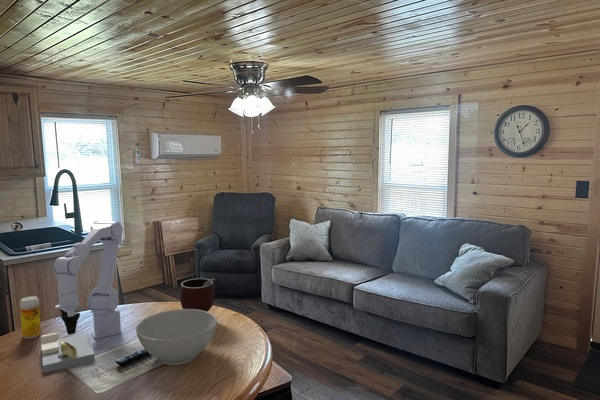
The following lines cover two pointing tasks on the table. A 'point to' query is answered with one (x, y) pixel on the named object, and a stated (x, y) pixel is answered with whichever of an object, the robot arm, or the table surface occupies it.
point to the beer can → (30, 317)
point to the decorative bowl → (176, 334)
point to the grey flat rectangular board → (58, 361)
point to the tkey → (68, 350)
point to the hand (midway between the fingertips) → (70, 329)
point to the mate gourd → (197, 294)
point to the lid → (49, 343)
